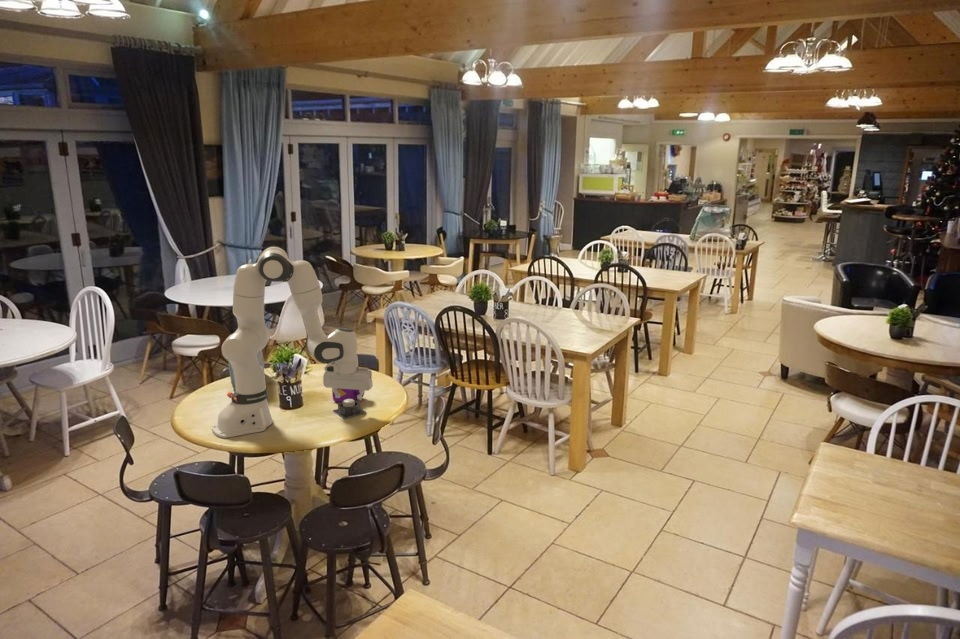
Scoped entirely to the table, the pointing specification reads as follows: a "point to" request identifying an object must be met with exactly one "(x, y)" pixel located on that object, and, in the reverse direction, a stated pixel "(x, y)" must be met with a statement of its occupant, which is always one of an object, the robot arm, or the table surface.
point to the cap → (348, 403)
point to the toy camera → (346, 394)
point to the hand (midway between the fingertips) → (348, 398)
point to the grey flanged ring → (349, 410)
